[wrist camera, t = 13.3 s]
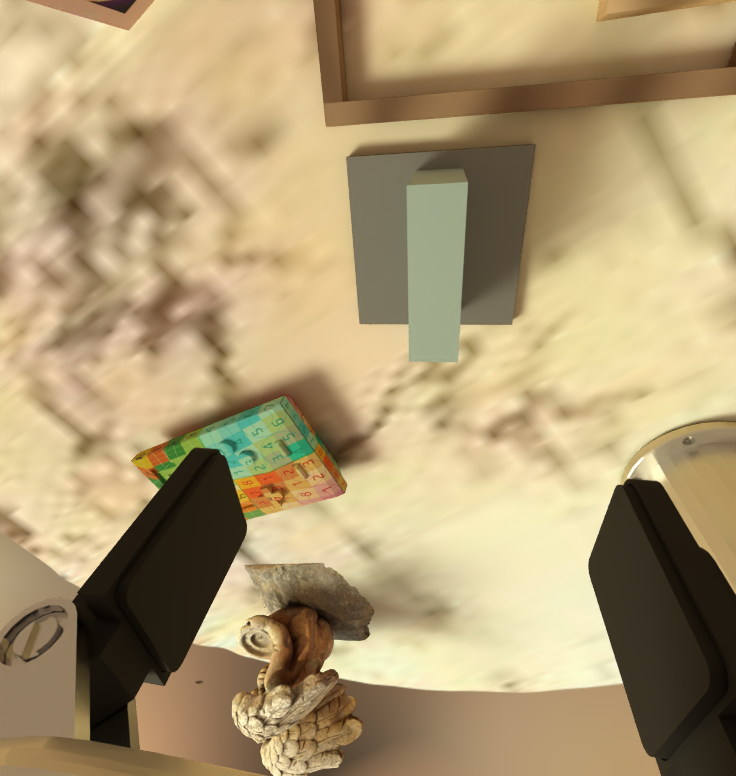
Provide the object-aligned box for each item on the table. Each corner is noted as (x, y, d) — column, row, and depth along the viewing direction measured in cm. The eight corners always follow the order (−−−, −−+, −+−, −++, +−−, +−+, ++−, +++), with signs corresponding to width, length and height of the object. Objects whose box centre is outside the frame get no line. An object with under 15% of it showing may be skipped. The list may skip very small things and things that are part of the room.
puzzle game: (343, 500, 40) (196, 537, 48) (352, 467, 44) (215, 506, 52) (276, 409, 35) (125, 466, 43) (293, 381, 39) (152, 438, 47)
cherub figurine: (233, 563, 57) (158, 716, 43) (355, 562, 53) (319, 733, 38) (276, 632, 66) (227, 779, 51) (385, 636, 61) (365, 800, 47)
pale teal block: (462, 167, 27) (468, 182, 20) (455, 312, 32) (457, 362, 25) (416, 170, 27) (406, 185, 21) (416, 313, 32) (409, 361, 26)
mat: (533, 144, 26) (535, 144, 25) (510, 320, 32) (511, 324, 32) (348, 156, 28) (346, 157, 27) (361, 320, 34) (359, 323, 34)
